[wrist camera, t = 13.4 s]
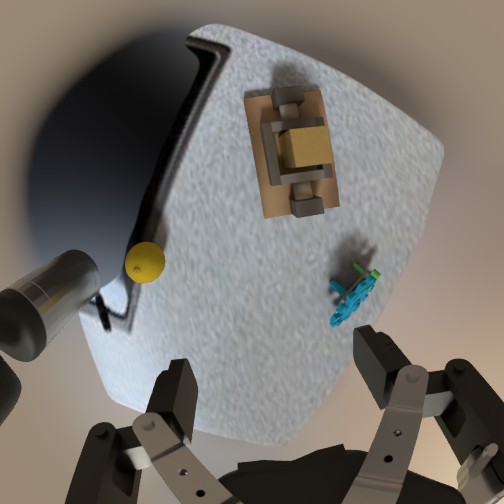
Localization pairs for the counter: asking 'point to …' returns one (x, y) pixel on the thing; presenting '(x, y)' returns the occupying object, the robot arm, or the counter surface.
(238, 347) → the counter surface
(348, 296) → the blue-green animal figure
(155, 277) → the lemon
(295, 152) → the block
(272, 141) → the shaft rig
